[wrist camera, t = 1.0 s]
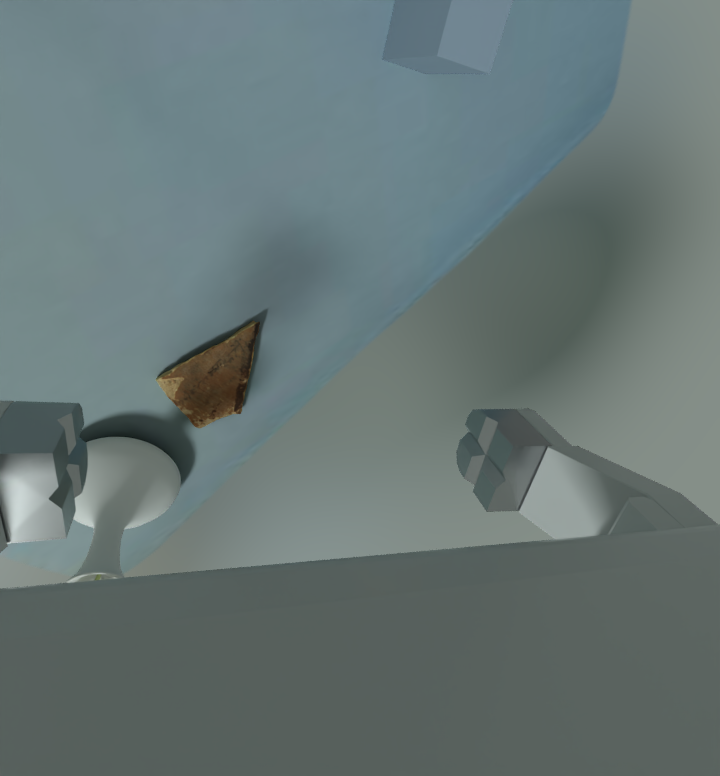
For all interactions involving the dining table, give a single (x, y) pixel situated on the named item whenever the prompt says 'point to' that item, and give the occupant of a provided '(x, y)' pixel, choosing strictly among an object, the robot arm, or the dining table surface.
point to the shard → (213, 378)
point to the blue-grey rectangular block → (446, 35)
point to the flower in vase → (121, 498)
